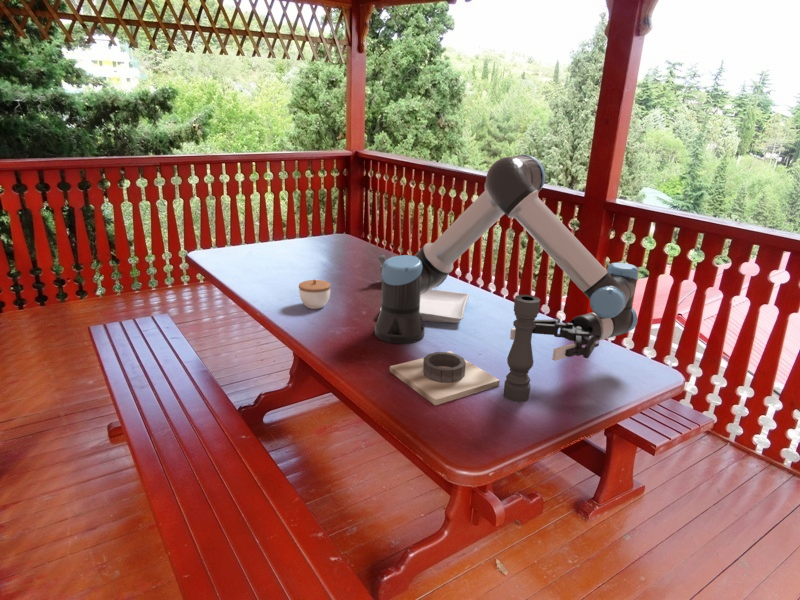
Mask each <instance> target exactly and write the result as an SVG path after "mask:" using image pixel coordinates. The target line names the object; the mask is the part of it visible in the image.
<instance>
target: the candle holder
mask: <svg viewBox="0 0 800 600" xmlns="http://www.w3.org/2000/svg"><path fill="white" fill-rule="evenodd" d="M513 303H514V304H513V312H514V317H515V319H514V321H513V322H512V324H513V326H514V328H516V330H515V338H514V340H512V341H513V342H512V344H511V347H510V350H509V353H508V355H507V361H506V362H507V365H508V367H509V373H508V374H506V376H505V378H506V379H505V380H504V384H503V392H502V393H503V397H504V398H505V399H506V400H508V401H510V402H512V403H513V402H515V403H524V402H528V400H530V395H531V394H530V392H531V383H530V382H531V378H530V376H529V373H530V370H531V369H532V367H533V366H534V355H533V347H532V346H533V345H532V337H533V336H532V335H533V333H532V330H533V329H534V328H536V323H535V322H534V320H536V318H537V317H538V314H539V313H540V308H541V307H540V305H541V299H540V298H539V297H538V296H535V295H532V294H518V295H515V296H514V301H513Z"/></svg>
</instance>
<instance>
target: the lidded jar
mask: <svg viewBox="0 0 800 600" xmlns="http://www.w3.org/2000/svg"><path fill="white" fill-rule="evenodd" d="M331 287H332V285H331V283H330V282H328V281H327V280H321V279H310V280H309V279H308V280H303V281H301V282H300V283H299V284H298V290H299V291H298V293H299V297H300V300H301V302H302V303H303V304H304V306H306V308H308V309H311V310H318V309H323V308H324V307H325V305H326V304H327V303H328V302H329V299H330V297H331Z"/></svg>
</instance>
